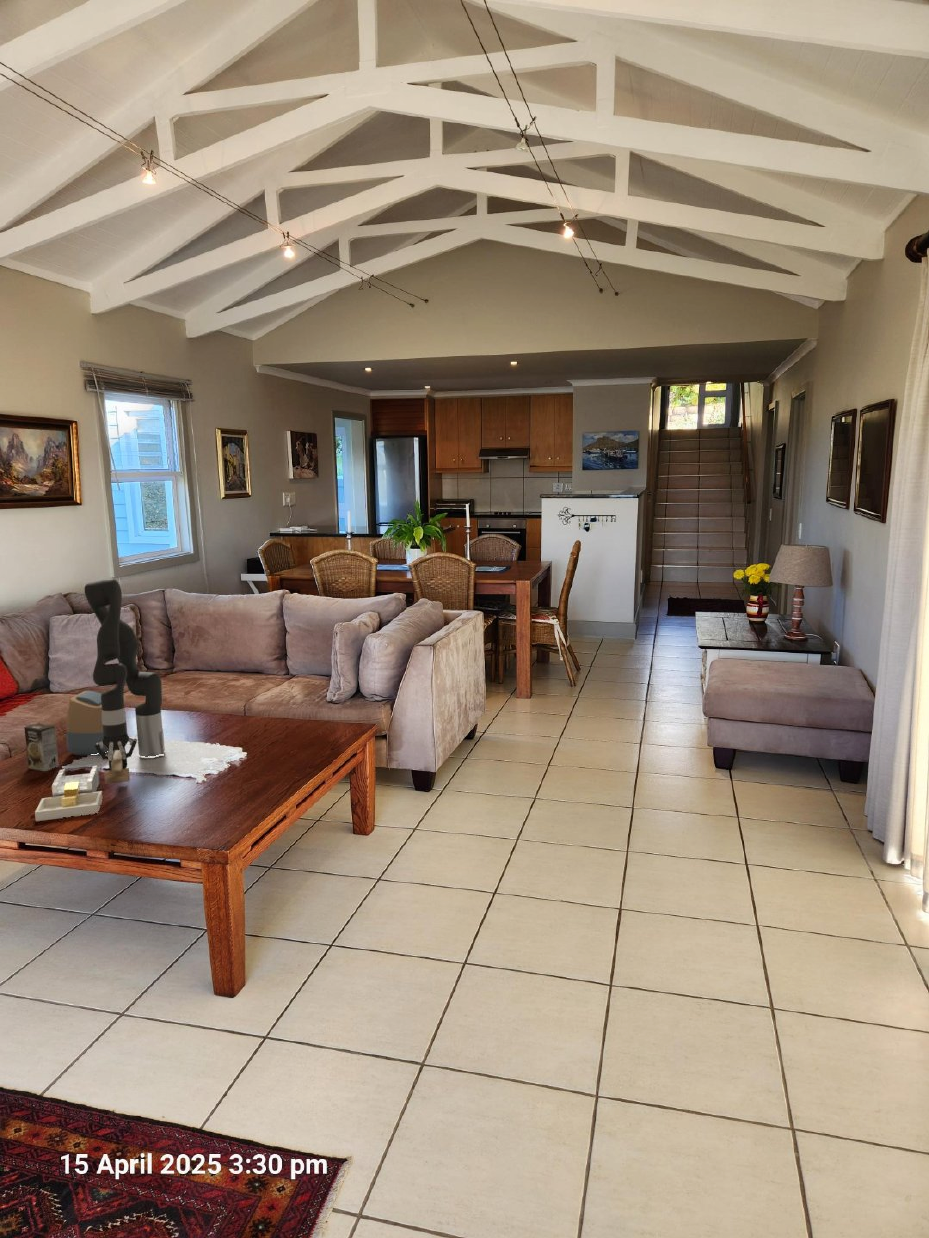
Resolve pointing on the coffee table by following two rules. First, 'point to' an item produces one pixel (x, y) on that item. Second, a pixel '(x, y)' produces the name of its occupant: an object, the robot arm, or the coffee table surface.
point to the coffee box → (41, 746)
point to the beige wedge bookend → (117, 770)
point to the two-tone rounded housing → (84, 723)
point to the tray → (54, 810)
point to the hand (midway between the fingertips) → (118, 769)
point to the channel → (86, 781)
